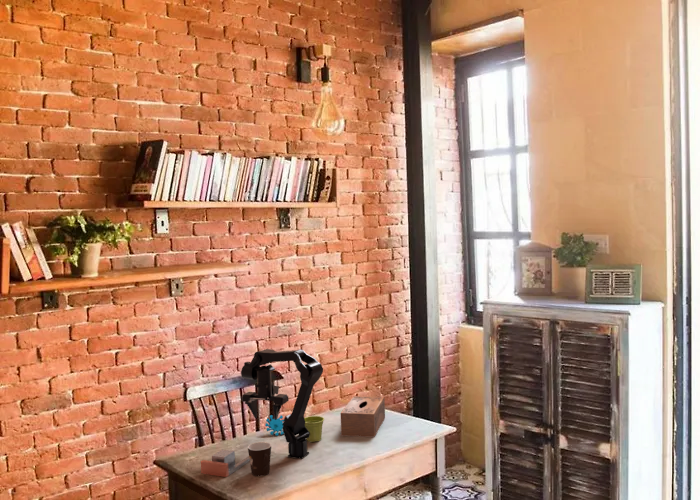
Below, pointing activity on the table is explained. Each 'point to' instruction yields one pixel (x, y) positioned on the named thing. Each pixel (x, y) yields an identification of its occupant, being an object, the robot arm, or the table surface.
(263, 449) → the coffee mug
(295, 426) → the robot arm
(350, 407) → the tissue box cover
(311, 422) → the plant pot
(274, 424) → the blue spiky piece
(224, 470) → the channel
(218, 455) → the metal box with button
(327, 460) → the table surface
